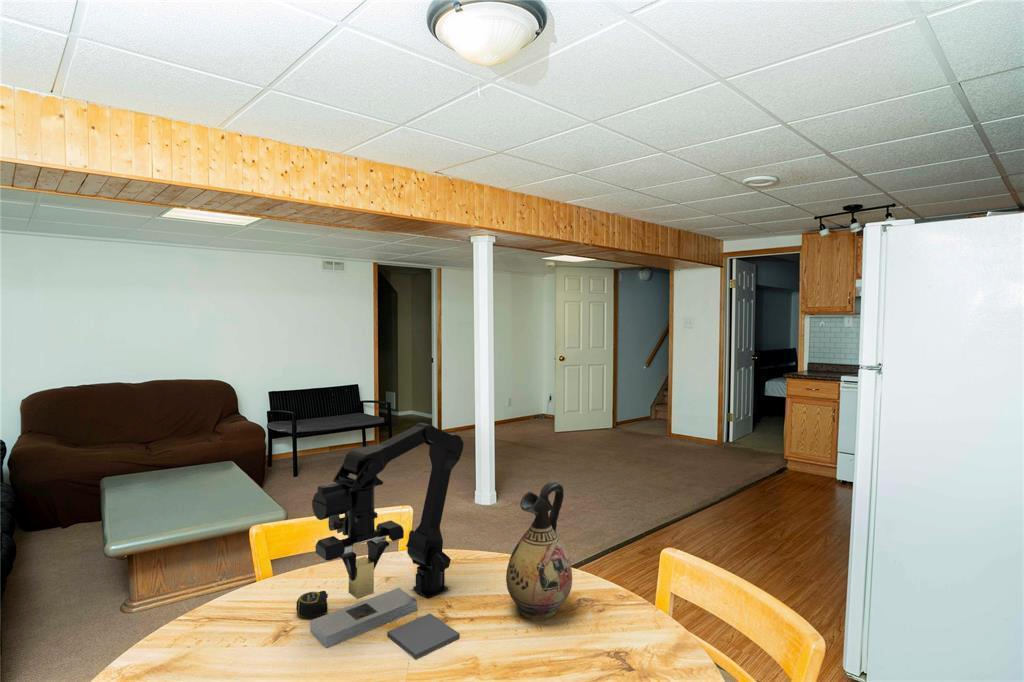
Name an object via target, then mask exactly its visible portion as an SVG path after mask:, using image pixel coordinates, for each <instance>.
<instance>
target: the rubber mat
mask: <svg viewBox="0 0 1024 682" xmlns="http://www.w3.org/2000/svg"><path fill="white" fill-rule="evenodd" d="M460 636H461V635H460V632H458V631H457V630H456V629H454V628H452V627H451V626H449V625H448V624H446V623H445V622H444V621H443V620H441V619H439V618H438V617H437V616H435V615H434V614H432V613H427V614H425V615H422V616H420V617H418V618H415V619H413V620H410V621H408V622H406V623H403V624H402V625H401V624H400V626H397V627H394V628H392V629H390V630H387V631H386V637H388V638H389V639H390V640H391V641H392V642H394V643H395V644H396V645H398V647H400V648H401V649H402V650H404V651H405V652H406V653H408V655H410V656H411V657H412V658H413V659H414V660H417V659H420V658H422V657H423V656H426V655H428V654H430V653H432V652H434V651H436V650H438V649H441V648H442V647H444V646H446V645H449V644H450V643H452V642H455V641H456V640H459V639H460Z"/></svg>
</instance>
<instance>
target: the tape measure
mask: <svg viewBox="0 0 1024 682" xmlns="http://www.w3.org/2000/svg"><path fill="white" fill-rule="evenodd" d="M328 598H329V593H327V591H326V590H320V591H309V592H306V593H303V594H302V595H300V596H299V597H298V598H297V600H296V606H295V607H296V613H297V614H298V616H300V617H303V618H314V617H319V616H321V615H322V616H323V615H326V614H327V612H328Z"/></svg>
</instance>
